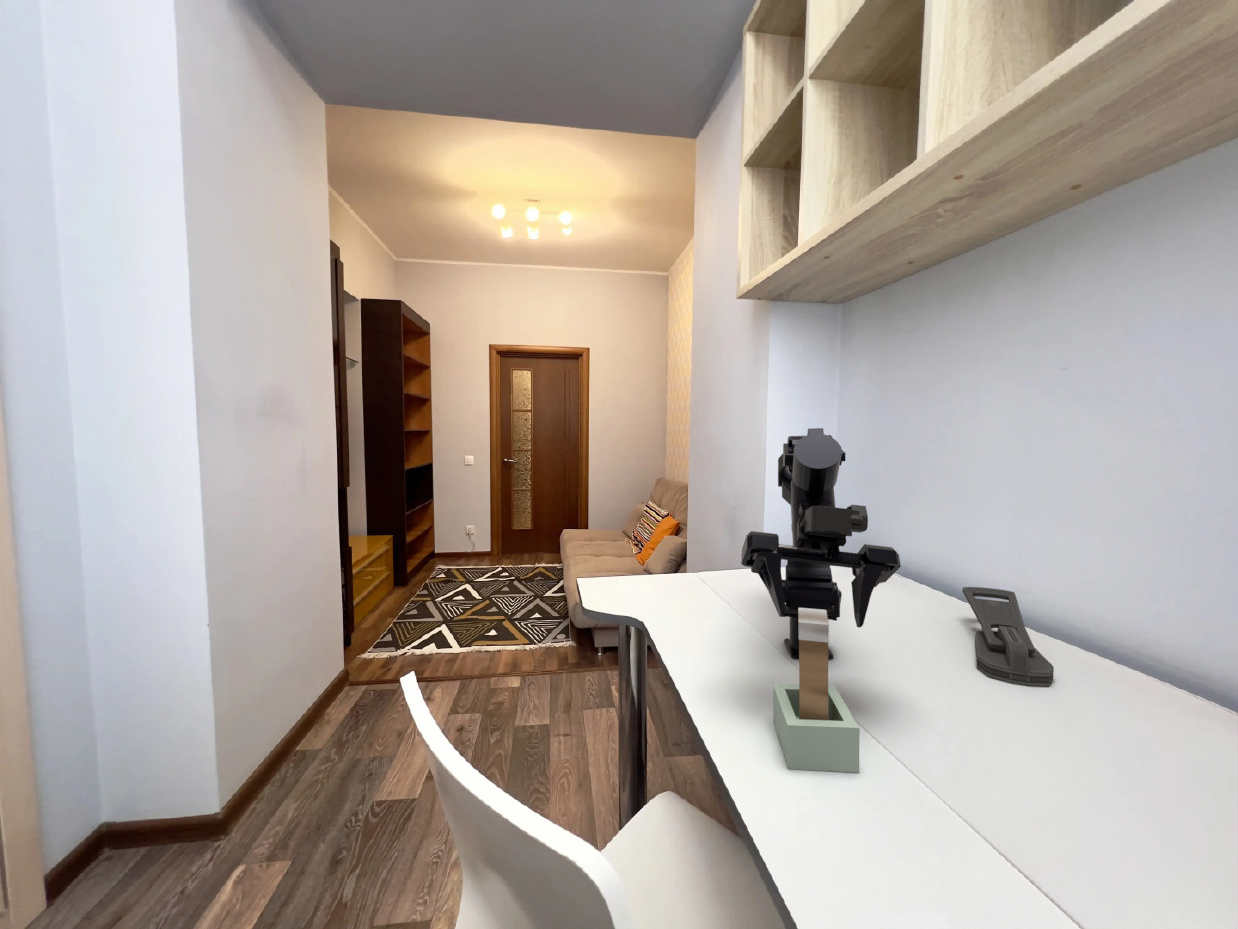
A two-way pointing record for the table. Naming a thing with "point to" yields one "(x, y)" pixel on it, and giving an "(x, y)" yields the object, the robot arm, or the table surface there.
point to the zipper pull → (1006, 641)
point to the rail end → (813, 664)
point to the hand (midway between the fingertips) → (820, 621)
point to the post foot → (815, 733)
